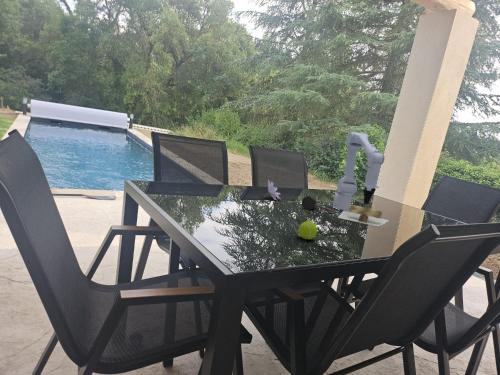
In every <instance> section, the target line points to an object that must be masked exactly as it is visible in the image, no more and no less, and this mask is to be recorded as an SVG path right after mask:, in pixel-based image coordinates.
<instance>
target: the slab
mask: <svg viewBox="0 0 500 375" xmlns="http://www.w3.org/2000/svg"><path fill="white" fill-rule="evenodd" d="M360 215H361V214H356V213H352V212H348V210H342V212H340V213H339V215H338V216H337V218H338V219H343V220H346V221H351V222H357V223H359V224H365V225H368V226H372V227H373V226H374V227H377V226H378V227H379V226H381V225H383V224H385V223H386V222H388V223H389V219H386V218H385V219H384V218H381V219H379V218H375V217H370V216H368V220H367V223H366V222H361V221H359V217H360ZM379 228H380V227H379Z"/></svg>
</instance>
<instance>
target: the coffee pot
mask: <svg viewBox="0 0 500 375" xmlns="http://www.w3.org/2000/svg"><path fill="white" fill-rule="evenodd" d="M301 207H302V208H303V209H304V210H306V211H311V210H313V209H314V208H316V207H318V208H319V209H322V210H324V211H327V212H330V213H336V214H337V211H336V210H335V209H332V208H329V207H325V206H323V205H319V204H318V202H317V200H316V199H315V198H314V197H312V196H310V195H306V196H304V197H303V198H302V199H301Z"/></svg>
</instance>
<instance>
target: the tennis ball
mask: <svg viewBox="0 0 500 375" xmlns="http://www.w3.org/2000/svg"><path fill="white" fill-rule="evenodd" d="M298 233H299V236H300V237H301V238H302V239H304V240H307V239H308V240H307V241H309V240H313V238H315V237H316V236H317V234H318V227H317V225H316V224H315V223H314V222H312V221H310V220H309V221H308V220H307V221H304V222H302V223H301V224H300V225H299V226H298Z"/></svg>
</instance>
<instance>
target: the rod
mask: <svg viewBox="0 0 500 375" xmlns="http://www.w3.org/2000/svg"><path fill="white" fill-rule="evenodd" d="M347 211H348V210H347ZM348 212H352V213H356V214H361V215H366V216H370V217H375V218H379V219H382V216H383V211H382V210H380V209H374V208H369V207H365V206H359V205H356V204H350V206H349V211H348Z"/></svg>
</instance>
